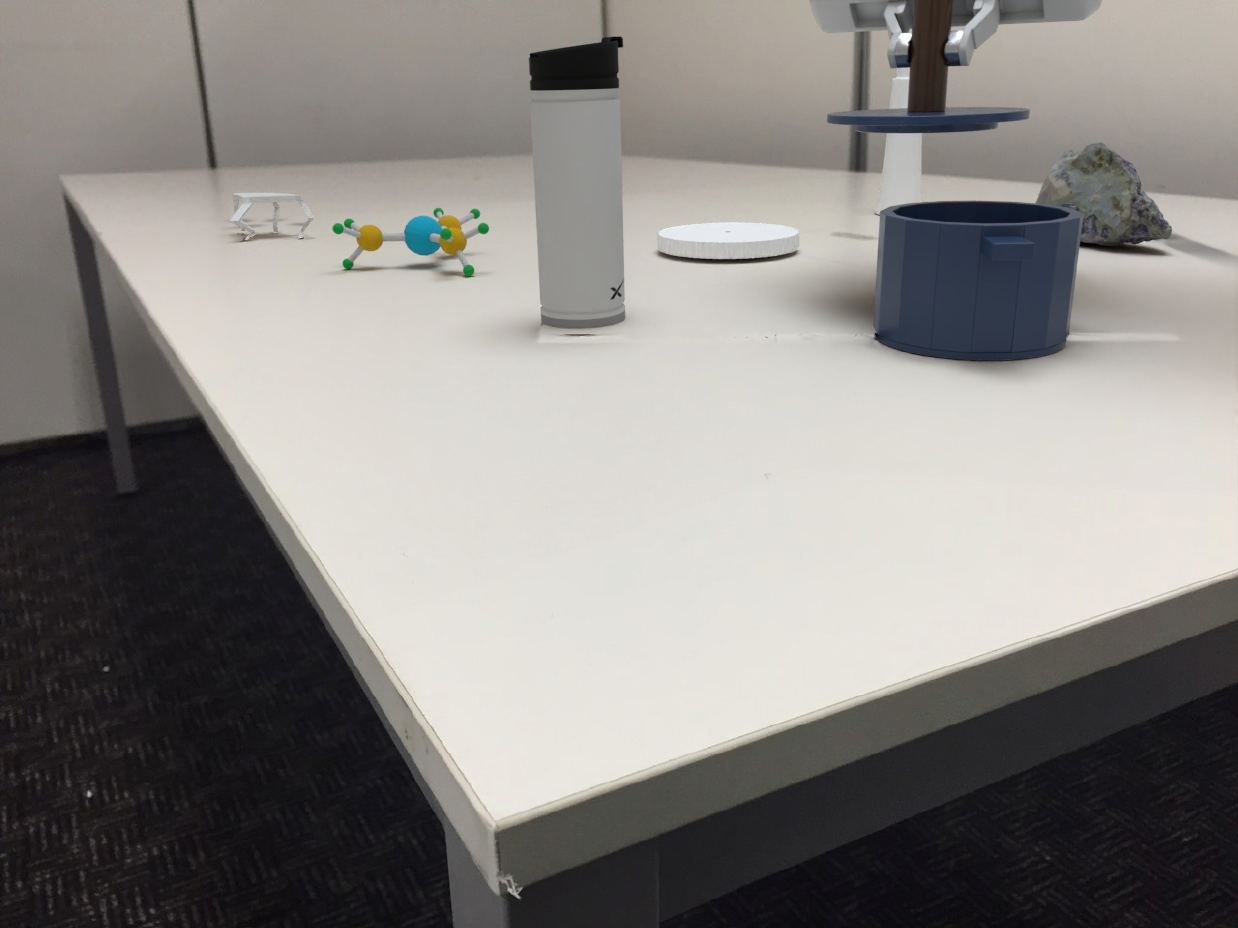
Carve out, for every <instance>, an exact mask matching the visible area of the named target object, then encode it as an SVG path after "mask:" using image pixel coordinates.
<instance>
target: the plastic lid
mask: <svg viewBox="0 0 1238 928" xmlns="http://www.w3.org/2000/svg"><path fill="white" fill-rule="evenodd" d="M656 235H657V238H656V240H657V244H656V245H657V250H658V252H661V253H663V254H666V255H670V256H674V257H676V256H677V257H683V258H689V259H690V258H691V259H692V258H693V259H707V260H710V259H712V260H737V259H739V260H742V259H747V260H748V259H755V258H756V259H759V258H768V257H777V256H782V255H786V254H790V253H793V252H797V251H798V250H799V249H800V230H799V229H797V228H795V227H793V226H788V225H783V224H774V223H764V222H761V223H760V222H746V221H745V222H742V221H739V222H736V221H733V222H730V221H726V222H723V221H721V222H703V223H702V222H701V223H693V224H692V223H690V224H683V225H682V224H681V225H675V226H670V227H667V228H662V229H660V230H658V231H657V233H656Z"/></svg>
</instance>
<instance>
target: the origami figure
mask: <svg viewBox="0 0 1238 928" xmlns="http://www.w3.org/2000/svg"><path fill="white" fill-rule="evenodd" d="M231 195H232V201H233V210H234V214H233V215H232V216H231V218H230V219H229V222H230V223H232V224H234V225H235V226H237V227H239V228H241V231H245V232H248V233H249V234H248V235H247V236H246V237H251V238H253V237H254V236H255V235H256V234H258V231H257V230H255V229H254V228H252V227H251V226H250V225H248V224H247V223H246V222H244V221H243V217H244V216H245V215H246V214H247V213H248V211H249V210H250V209H251V208H252V206H253V205H254V204H264V203H265V204H266V203H271V205H272V206H273V209H274V210H273V221H272V229H273V233H274V232H278V233H279V230H278V226H279V225H278V224H279V217H280V210H281V207H280V206H279V204H278V203H290V202H291V203H292V202H294V203H295V202H298V203H299V205H300V206H301V207H302V209H303V211H304V212H305V214H306V216H307V219H306V221H305V222H304V224H303V226H302V227H301V228H300V230H299V235H298V239H299V238H303V239H304V231H305V230H306V229H307V227H308V226H309V225H310V224H311V223H312V221H313V220H314V219H315V216H314V214H313V213H312V212H311V210H310V208H309V207H308V205H307V204H306V202H305V201H304V199H303V198H302V197H301V196H300V195H299V194H294V193H285V192H284V193H282V192H236V193H232V194H231ZM239 202H241V205H239Z"/></svg>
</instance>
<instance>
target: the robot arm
mask: <svg viewBox="0 0 1238 928" xmlns="http://www.w3.org/2000/svg"><path fill="white" fill-rule="evenodd" d="M1102 1H1103V0H953V6H952V21H951V28H959V27H960V28H961V27H962V29H957V30H951V31H950V33H949V35H948V42H947V43H946V45H945V58H946V59H947V61H946V65H947V66H948V67H969V66H970V65H971V62H972V58H973V56H974V52H975V50H977V49H978V48H979V47H980V46H982V45H983V44H985V42H986V41H988V40H989V39H990V38H991V37H992V36H993V35H995V33H996V32H997V31H998V27H999V25H1019V24H1022V25H1023V24H1039V23H1041V24H1042V23H1059V22H1060V23H1061V22H1080V21H1084V20H1087V19H1088V18H1089V17H1091V16H1092V15H1093V14H1094V13H1096V12H1097V11H1099V9H1100V8H1101V4H1102ZM809 3H810V7H811V11H812V15H813V17H814V20H815V22H816V23H817V25H818V27H819V28H820V29H821V31H822V32H823V33H825V34H840V33H857V32H859V33H860V32H862V33H863V32H880V31H887V35H888V39H889V43H888V46H887V47H888V48H887V52H886V55H887V56H886V57H887V60H888V64H889V67H890V69H897V68H910V56H911V39H912V33H909V30H910V29H912V21H913V4H914V0H809Z"/></svg>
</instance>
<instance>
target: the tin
mask: <svg viewBox="0 0 1238 928" xmlns="http://www.w3.org/2000/svg"><path fill="white" fill-rule="evenodd" d="M1083 215H1084V214H1083V213H1081V212H1079V211H1076V210H1074V209H1071V208H1066V207H1060V206H1054V205H1047V204H1036V202H1034V203H1033V202H1022V201H1006V200H1003V201H1002V200H936V201H935V200H934V201H923V202H920V203H908V204H902V205H896V206H890V207H888V208H886V209H884V210H882V211H880V215H879V222H878V224H879V225H878V237H877V238H878V241H877V257H876V258H877V259H876V272H875V273H876V274H875V290H874V291H875V292H874V307H873V322H872V325H873V328H874V330H875V331H876V332H874V333H873V334H874V338H875V339H876V340H877V341H878V342H880V343H882V344H883V345H885V346H887V347H890V348H893V349H895V350H899V351H902V352H906V353H910V354H916V355H920V356H926V357H933V358H939V359H940V358H941V359H949V360H961V361H1014V360H1026V359H1033V358H1038V357H1039V358H1040V357H1044V356H1048V355H1051V354H1054V353H1057V352H1059V351H1061V350H1062V349H1064V348H1065V347H1066V345H1067V342H1068V341H1067V339H1068V335H1069V333H1070V325H1071V319H1072V312H1073V311H1072V309H1073V303H1074V296H1075V295H1074V293H1075V286H1076V279H1077V278H1076V277H1077V270H1078V262H1079V253H1080V245H1081V241H1080V239H1081V231H1082V223H1083Z"/></svg>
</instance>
